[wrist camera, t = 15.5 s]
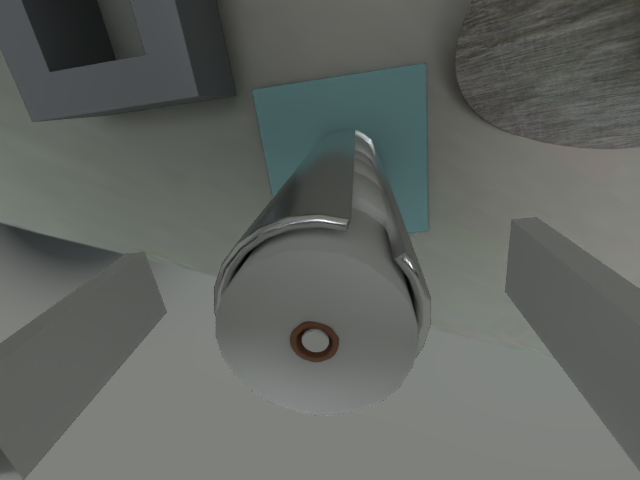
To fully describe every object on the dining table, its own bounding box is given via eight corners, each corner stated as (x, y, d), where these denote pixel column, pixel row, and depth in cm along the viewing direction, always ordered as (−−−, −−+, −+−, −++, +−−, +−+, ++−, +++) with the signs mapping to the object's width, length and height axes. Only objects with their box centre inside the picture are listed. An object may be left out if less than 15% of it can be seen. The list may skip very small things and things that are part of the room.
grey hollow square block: (43, -58, 28) (-69, -111, 21) (196, -95, 26) (132, -169, 19) (104, 115, 33) (32, 121, 26) (236, 95, 31) (198, 96, 24)
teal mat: (253, 89, 31) (252, 89, 30) (424, 63, 29) (425, 62, 28) (282, 241, 36) (281, 243, 36) (427, 229, 34) (428, 231, 34)
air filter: (391, 177, 32) (479, 388, 9) (331, 208, 34) (279, 449, 11) (359, 114, 30) (369, 178, 7) (297, 150, 32) (148, 294, 9)
